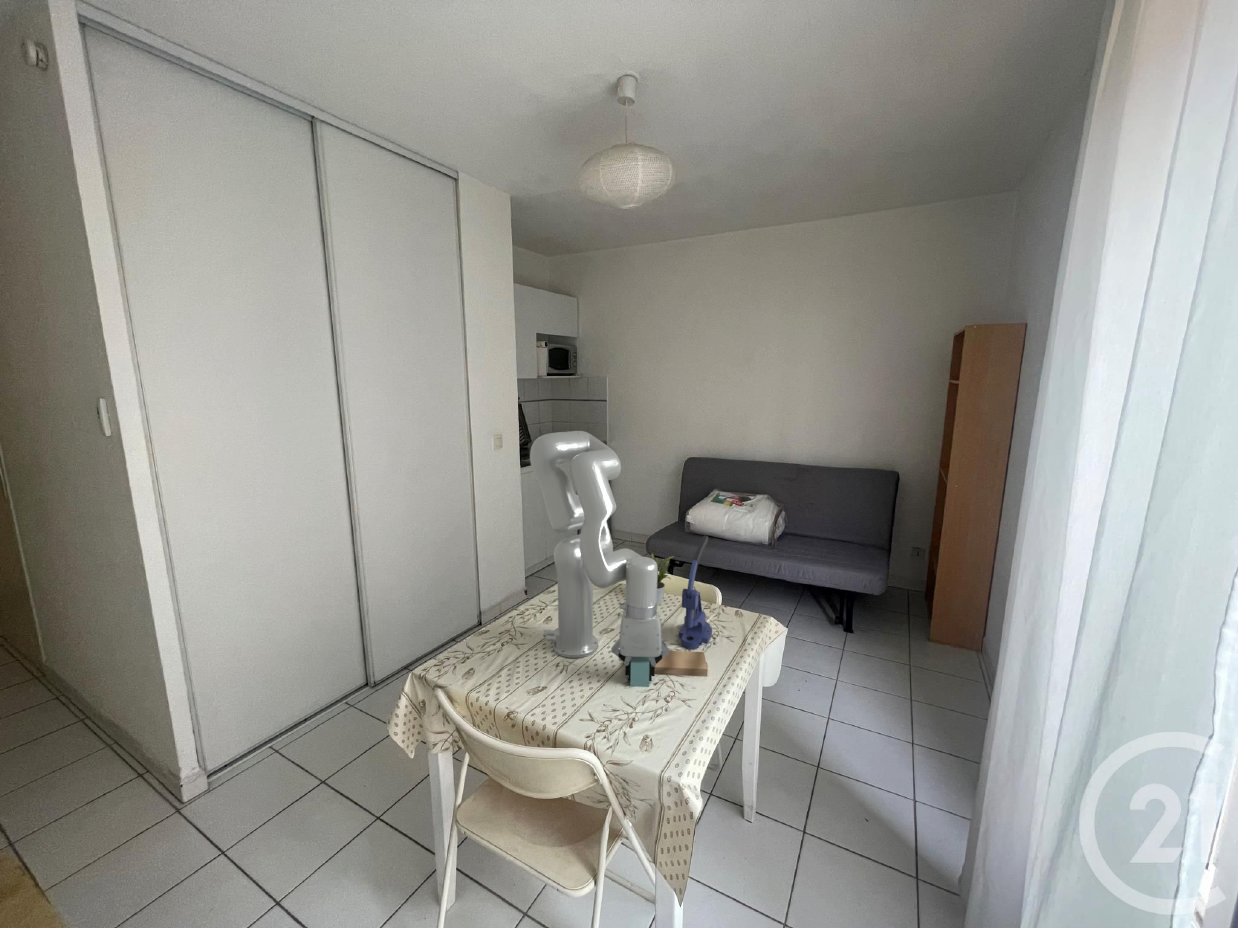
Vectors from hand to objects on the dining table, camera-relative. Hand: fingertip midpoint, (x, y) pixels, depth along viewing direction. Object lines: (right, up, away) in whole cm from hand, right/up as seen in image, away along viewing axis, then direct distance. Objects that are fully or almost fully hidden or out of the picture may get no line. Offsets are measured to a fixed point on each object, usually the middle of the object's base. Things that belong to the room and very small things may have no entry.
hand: (639, 676), depth 123 cm
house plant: (+7, +6, +45) cm, 46 cm away
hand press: (+17, +2, +22) cm, 28 cm away
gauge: (0, 0, +3) cm, 3 cm away
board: (+7, 0, +7) cm, 10 cm away
